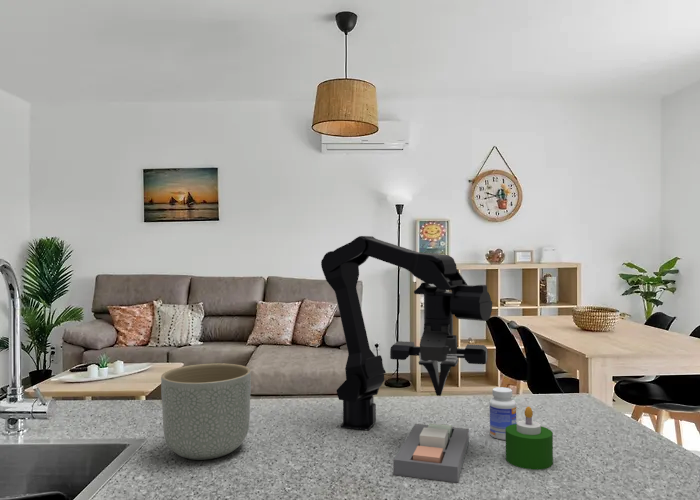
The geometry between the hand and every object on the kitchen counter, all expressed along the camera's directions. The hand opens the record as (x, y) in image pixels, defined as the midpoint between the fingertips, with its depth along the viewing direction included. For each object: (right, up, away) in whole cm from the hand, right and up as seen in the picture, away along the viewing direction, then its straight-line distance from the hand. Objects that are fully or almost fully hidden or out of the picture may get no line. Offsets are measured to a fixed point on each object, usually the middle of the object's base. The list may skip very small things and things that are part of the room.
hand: (438, 395), depth 107 cm
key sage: (0, -9, 0) cm, 9 cm away
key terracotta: (-4, -9, -12) cm, 16 cm away
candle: (+15, -10, -8) cm, 20 cm away
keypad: (-2, -10, -6) cm, 12 cm away
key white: (-2, -8, -6) cm, 10 cm away
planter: (-46, -10, -2) cm, 47 cm away
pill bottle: (+14, -10, +5) cm, 18 cm away
